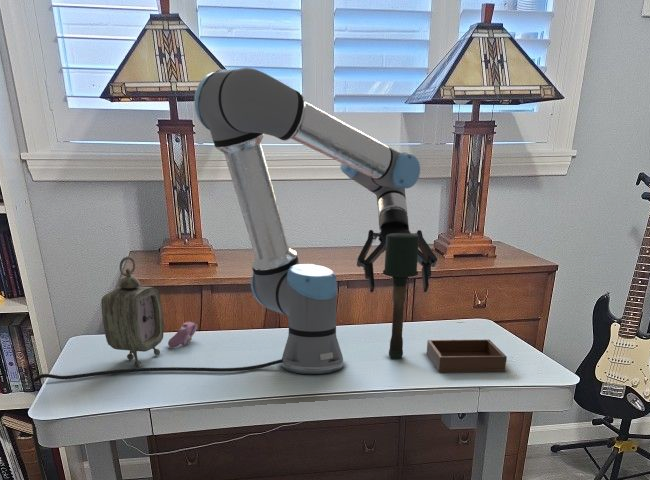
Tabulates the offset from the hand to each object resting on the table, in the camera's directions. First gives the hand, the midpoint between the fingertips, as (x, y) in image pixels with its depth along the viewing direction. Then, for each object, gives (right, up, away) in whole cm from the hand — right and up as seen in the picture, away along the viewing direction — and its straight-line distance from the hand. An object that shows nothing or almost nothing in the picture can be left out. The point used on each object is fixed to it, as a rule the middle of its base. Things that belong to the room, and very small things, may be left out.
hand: (399, 289), depth 174 cm
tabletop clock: (-66, -17, +3) cm, 68 cm away
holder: (+17, -17, +5) cm, 25 cm away
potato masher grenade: (0, -16, +8) cm, 17 cm away
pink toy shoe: (-57, -10, +17) cm, 61 cm away
